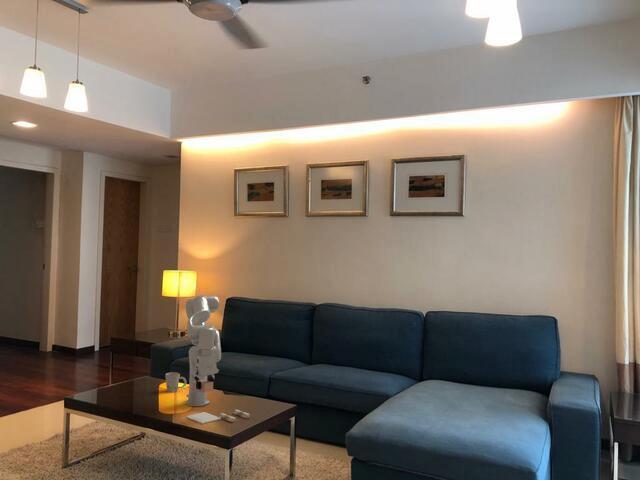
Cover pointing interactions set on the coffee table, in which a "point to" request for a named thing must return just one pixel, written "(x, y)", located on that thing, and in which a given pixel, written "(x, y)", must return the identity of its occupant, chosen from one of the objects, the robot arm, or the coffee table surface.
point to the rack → (233, 419)
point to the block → (204, 386)
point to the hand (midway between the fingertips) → (204, 387)
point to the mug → (173, 381)
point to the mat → (203, 418)
